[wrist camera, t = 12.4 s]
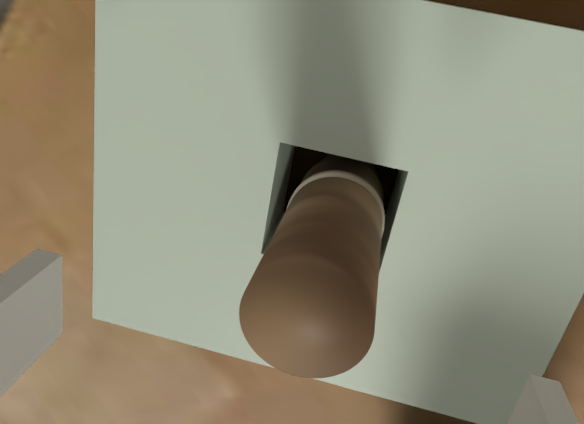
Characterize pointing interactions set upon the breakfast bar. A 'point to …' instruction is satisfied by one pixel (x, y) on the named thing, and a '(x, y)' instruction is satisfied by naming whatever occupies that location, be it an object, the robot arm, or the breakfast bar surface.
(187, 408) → the breakfast bar surface
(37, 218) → the breakfast bar surface
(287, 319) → the peg
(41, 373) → the breakfast bar surface
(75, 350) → the breakfast bar surface
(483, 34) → the board
